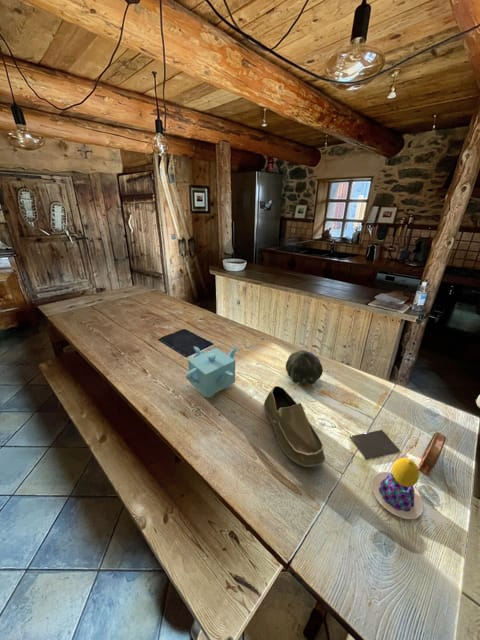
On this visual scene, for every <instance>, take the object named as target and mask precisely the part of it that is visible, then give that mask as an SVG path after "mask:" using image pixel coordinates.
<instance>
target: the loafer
mask: <svg viewBox="0 0 480 640" xmlns="http://www.w3.org/2000/svg"><path fill="white" fill-rule="evenodd" d="M263 409H264V412H265V413H266V415H267V417H268V419H269V421H270V424H271V425H272V427H273V430H274V433H275V436H276V440H277V443H278V445H279V447H280V449H281V450H282V452H283V453H284V454H285V456H286V457H287V458H288V459H290V461H292V462H294V463H295V464H297V465H299V466H301V467H306V468H308V467H309V468H311V467H318V466H321V465H322V464H324V463H325V460H326V455H325V453H324V444H323V442H322V439H321V437H319V435H318V433H317V432H316V430H315V429H314V427H313V426H312V424H311V422H310V421H309V419H308V417H307V415H306V412H305V410H304V406H303V405H302V402H298V403H297V402H296V400H295V399H294V398H293V397H292V396H291V395H290V394H289V393H288V392H287V391H286V390H285V388H284V387H282V386H279V385H274V386H273V387H272V388H271V390H270V391H269V392H268V394H267V396H266V398H265V400H264V402H263Z"/></svg>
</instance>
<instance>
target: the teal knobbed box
mask: <svg viewBox="0 0 480 640" xmlns="http://www.w3.org/2000/svg"><path fill="white" fill-rule="evenodd" d="M193 350H194V351H195V355H196V356H194V357H191V358H190V359H188V360H187V365H188V372H186V374H185V378H186V380H187V381H189V383H190V384H191V385H192V386H193V387H194V388H195V389H197V391H198V392H200V394H202V395H203V396H204V397H205V398H213V397H214V396H215V394H217V393H219V392H220V391H222V390H227V389H229V387H230V386H231V385H233V384H235V383H236V360H235V359H234V358H235V354H236V352H237V351H238V350H239V347H237V346H236V347H234V348H232V349H231V350H230V351H229V354H227V353H225V352H224V351H222V350H221V349H220V348H218V347H216V348H213V349H211V350H209V351H206V352H204V353H202V351H201V349H200V348H199V347H198V346H196V345H193Z"/></svg>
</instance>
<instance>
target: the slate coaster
mask: <svg viewBox="0 0 480 640" xmlns="http://www.w3.org/2000/svg"><path fill="white" fill-rule="evenodd" d="M349 438H350V440H351V442H353V444H354V445H355V447H356V449H358V451H359V452H360V454H361V455H362V456H363V458H364V459H365V460H368V459H372V458H377V457H381V456H385V455H390V454H394V453H399V452H401V451H400V450H401V449H400V448H399V447H398V446H397V445H396V444H395V442H393V441H392V439H391V438H390V437H389V436H388V435H387V434H386V432H385V431H384V430H383V429H379V430H373V431H369V432H364V433H358V434H354V435H350V436H349Z"/></svg>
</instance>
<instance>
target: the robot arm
mask: <svg viewBox="0 0 480 640" xmlns="http://www.w3.org/2000/svg"><path fill="white" fill-rule="evenodd" d="M475 403H476V405H477V407H478V408H480V394H479V395H478V396H477V398H476V399H475Z"/></svg>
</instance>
